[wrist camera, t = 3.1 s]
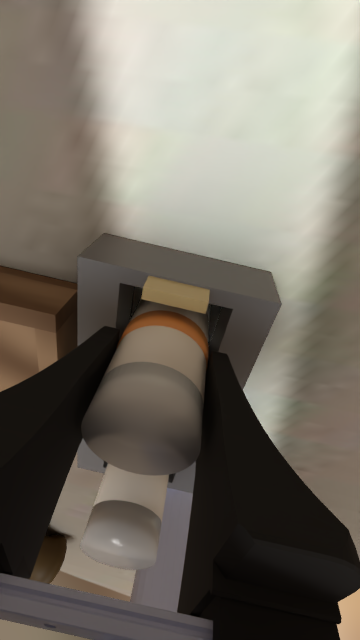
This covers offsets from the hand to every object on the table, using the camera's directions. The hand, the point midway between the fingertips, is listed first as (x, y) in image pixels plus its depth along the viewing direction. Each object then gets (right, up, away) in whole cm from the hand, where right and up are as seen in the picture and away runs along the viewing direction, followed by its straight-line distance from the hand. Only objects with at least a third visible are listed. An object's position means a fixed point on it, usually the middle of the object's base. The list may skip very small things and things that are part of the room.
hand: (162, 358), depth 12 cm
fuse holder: (0, -1, +6) cm, 6 cm away
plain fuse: (-1, -5, +8) cm, 10 cm away
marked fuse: (+1, +2, +4) cm, 4 cm away
